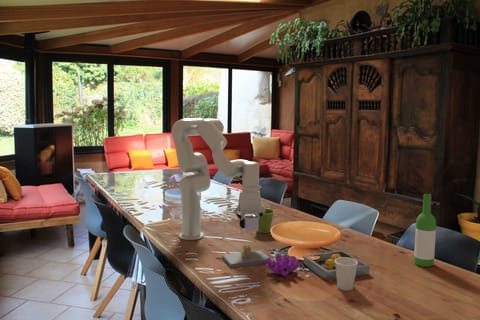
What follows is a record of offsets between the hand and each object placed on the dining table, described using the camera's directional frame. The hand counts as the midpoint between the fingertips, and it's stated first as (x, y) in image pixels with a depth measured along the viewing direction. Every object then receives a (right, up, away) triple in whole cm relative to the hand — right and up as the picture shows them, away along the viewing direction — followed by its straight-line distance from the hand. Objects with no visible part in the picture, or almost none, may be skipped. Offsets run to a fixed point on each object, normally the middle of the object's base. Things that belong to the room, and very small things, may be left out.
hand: (249, 226), depth 197 cm
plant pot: (+8, -8, +31) cm, 33 cm away
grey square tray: (+35, -14, -21) cm, 43 cm away
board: (-2, -13, -11) cm, 17 cm away
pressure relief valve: (+37, -14, -22) cm, 45 cm away
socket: (0, -1, 0) cm, 1 cm away
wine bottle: (+73, -13, -16) cm, 76 cm away
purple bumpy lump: (+13, -15, -25) cm, 32 cm away
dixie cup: (+35, -16, -39) cm, 54 cm away
